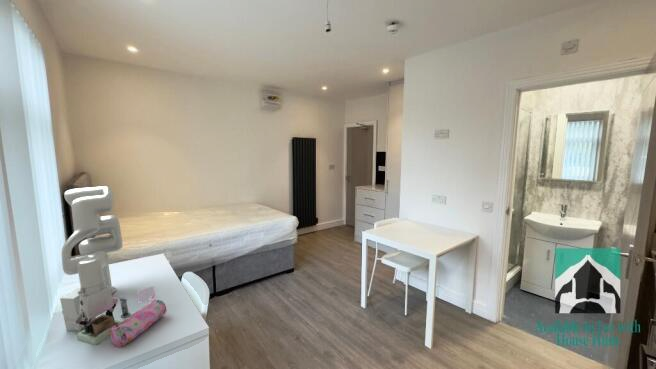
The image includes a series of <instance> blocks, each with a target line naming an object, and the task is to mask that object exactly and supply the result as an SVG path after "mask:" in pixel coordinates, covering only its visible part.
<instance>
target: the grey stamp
mask: <svg viewBox="0 0 656 369" xmlns="http://www.w3.org/2000/svg"><path fill="white" fill-rule="evenodd" d="M127 299H128V298H124V297H121V298H120V299H119V302H120V308H121V315H120V319H127V318H129V317H130V316H131V312H129V310H128V309H129V308H128V300H127Z"/></svg>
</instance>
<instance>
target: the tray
mask: <svg viewBox="0 0 656 369" xmlns="http://www.w3.org/2000/svg"><path fill="white" fill-rule="evenodd" d="M122 321H123V320H122ZM122 321H121V320H117V319H115V325H117V324H119V323H120V322H122ZM115 325H113V326H111V327H110V328H108V329H107V330H105V331H103V332H102V333H100V334H98V335H94V334H90V333H86V332H85V329H82V331H81V330H80V331H79V332H78V333H76V340H77V341H79V342H83V343H88V344H91V345H94V346H97V345H98V344H100V343H102V342H103V341H105V340H106V339H108V338H109V337H110V333H109V332H110V329H111V328H112V327H114V326H115Z"/></svg>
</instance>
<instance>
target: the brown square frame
mask: <svg viewBox="0 0 656 369" xmlns="http://www.w3.org/2000/svg"><path fill="white" fill-rule="evenodd" d="M115 320H116V319H115V316H114V315H113V316H108V315H106V314H105V313H102V314H100V315H98V316H96V318H95V319H93V320H91V323H90V324H92V328H93V333H92V334H94V335H98V334H100V333H102V332H103V331H105V330H107V329H108V328H110V327H111V326H113V325H115Z"/></svg>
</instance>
